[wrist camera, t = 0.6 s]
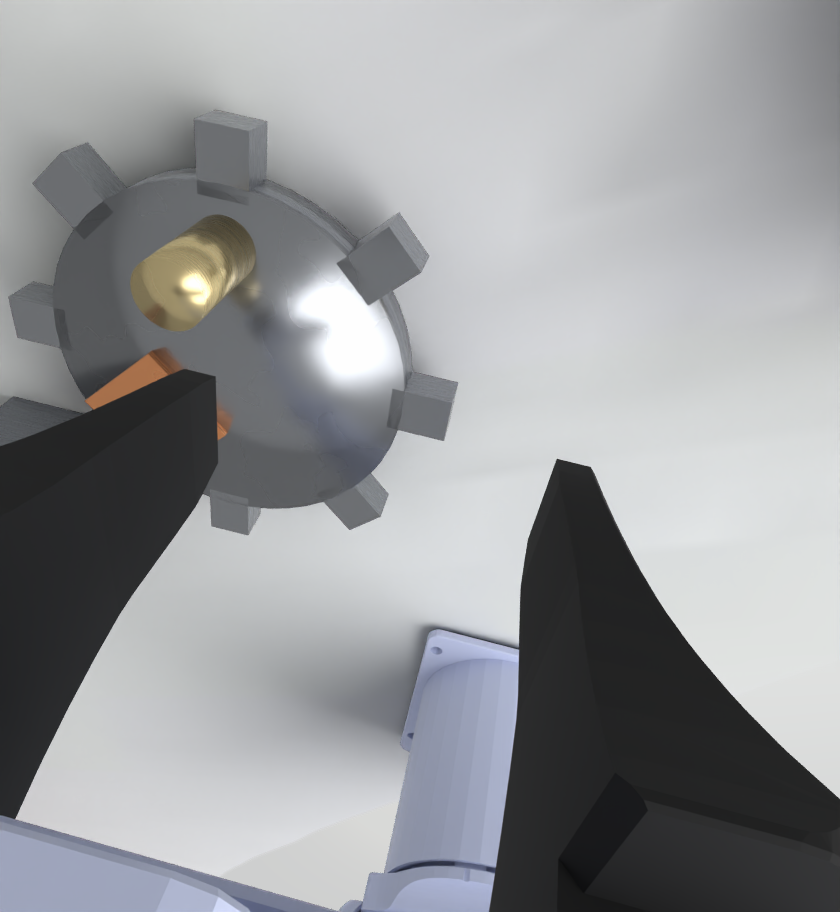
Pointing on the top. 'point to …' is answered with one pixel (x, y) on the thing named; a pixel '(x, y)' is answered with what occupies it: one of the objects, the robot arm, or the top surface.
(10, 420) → the cube with orange inset
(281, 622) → the top surface
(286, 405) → the sprocket
